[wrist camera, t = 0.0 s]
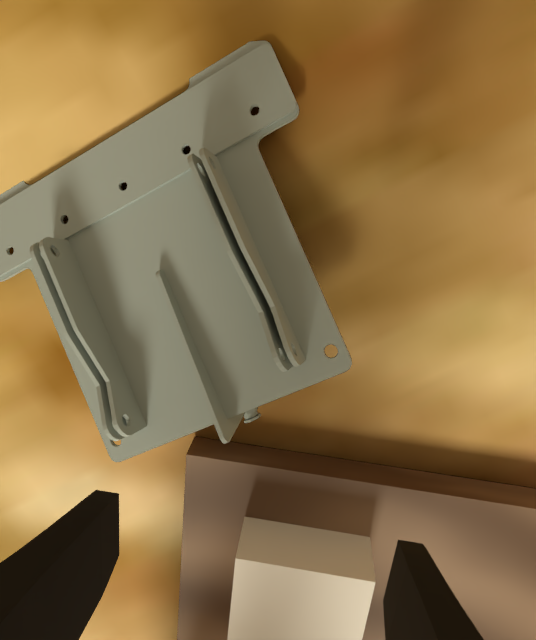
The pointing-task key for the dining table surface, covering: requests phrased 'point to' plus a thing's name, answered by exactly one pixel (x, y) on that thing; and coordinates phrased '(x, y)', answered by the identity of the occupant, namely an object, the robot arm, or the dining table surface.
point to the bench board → (358, 530)
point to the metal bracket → (178, 264)
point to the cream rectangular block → (300, 583)
